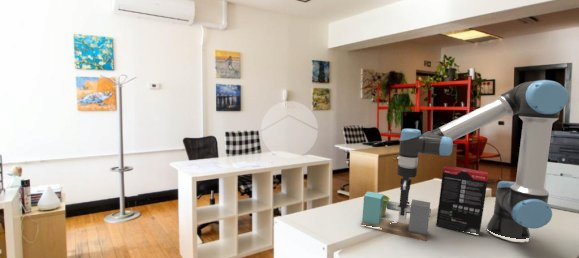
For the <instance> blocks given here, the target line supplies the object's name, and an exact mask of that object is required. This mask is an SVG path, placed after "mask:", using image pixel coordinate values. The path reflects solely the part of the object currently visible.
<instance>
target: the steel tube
mask: <svg viewBox="0 0 579 258" xmlns="http://www.w3.org/2000/svg"><path fill="white" fill-rule="evenodd" d="M398 205H400V202H396V201H390V200H389V201H388V202H387V207H386V210H390V211H393V212H394V211H396V212H399V208H400V207H398ZM406 206H407V209H406V213H407V214H410V210H411V204H406ZM431 211H432V209H431V208H430V211H429V218H431V213H432V212H431Z"/></svg>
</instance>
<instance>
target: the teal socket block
mask: <svg viewBox="0 0 579 258" xmlns="http://www.w3.org/2000/svg"><path fill="white" fill-rule="evenodd" d="M383 195H384V193H380V192H374V191H366V193H365V194H364V195H363V207H362V220H361V223H362V222H365V223H369V224H374V225H379V223H380V221H381V219H382V217H383V216H382V206H383Z"/></svg>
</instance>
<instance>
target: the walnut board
mask: <svg viewBox="0 0 579 258" xmlns="http://www.w3.org/2000/svg"><path fill="white" fill-rule="evenodd" d="M394 221H395V220H390V219H385V218H381V221H380V223H379V225H374V224H369V223H365V222H362V221H361V223H360V226H361V225H366V226H372V227H380V228H382V231H381V232H384V233H389V234H392V235H398V236H402V237H405V238H410V239H411V238H412V239H414V240H420V241H424V242H427V239H428V235H427V236H424V235H420V234H415V233H411V232H408V230H409V223H406V222H405V223H402V222H398V221H396V222H397V223H392V222H394ZM390 223H391V224H390Z"/></svg>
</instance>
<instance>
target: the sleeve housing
mask: <svg viewBox="0 0 579 258" xmlns="http://www.w3.org/2000/svg"><path fill="white" fill-rule="evenodd" d="M411 200H412V201H411V204H410V205H411V210H410V213H409V220H408V224H409V230H408V232H411V233H415V234H420V235H424V236H427V237H428V228H429V219H430V217H429V211H430V209H431V202H430V201H424V200H419V199H413V198H412V199H411Z"/></svg>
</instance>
